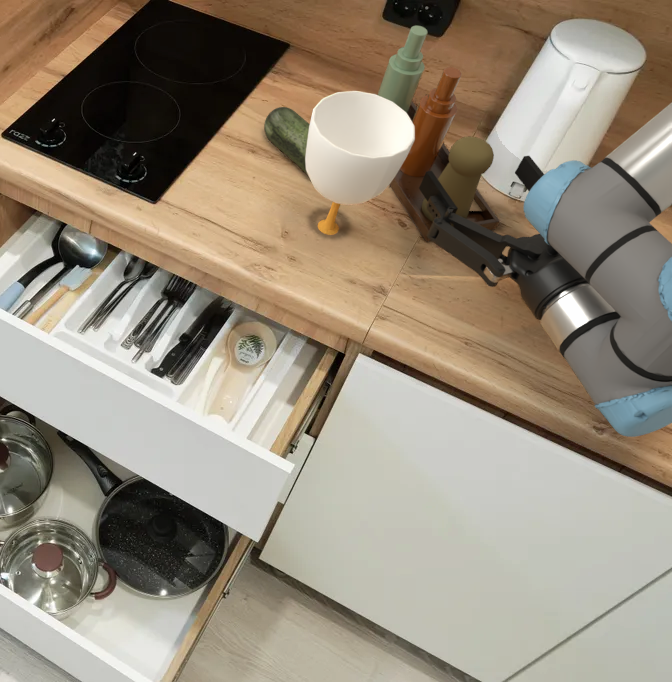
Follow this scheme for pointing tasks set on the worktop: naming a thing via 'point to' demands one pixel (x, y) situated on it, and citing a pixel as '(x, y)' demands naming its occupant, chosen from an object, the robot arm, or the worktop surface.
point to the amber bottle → (432, 124)
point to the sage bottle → (404, 70)
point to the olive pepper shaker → (464, 173)
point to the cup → (355, 149)
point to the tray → (414, 198)
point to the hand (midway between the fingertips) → (474, 171)
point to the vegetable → (288, 134)
